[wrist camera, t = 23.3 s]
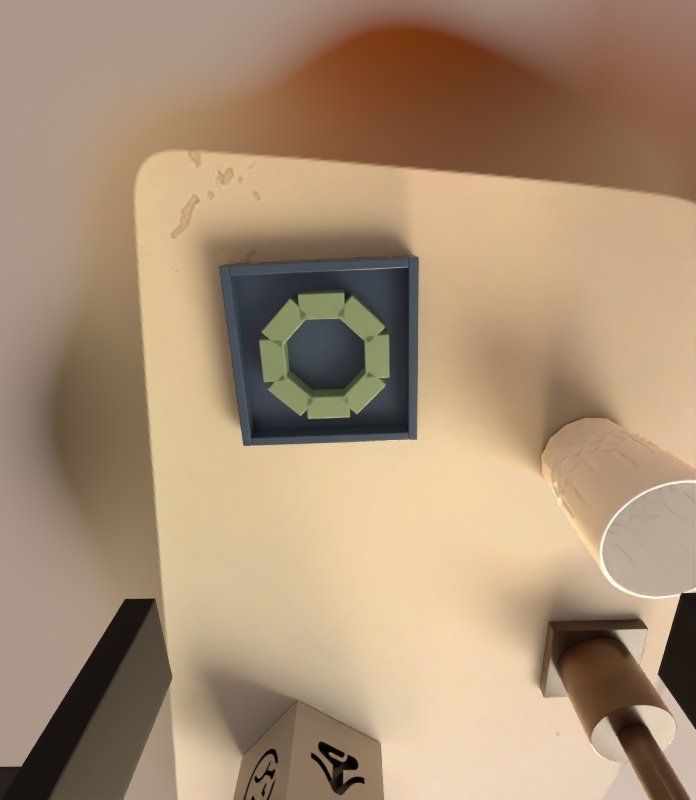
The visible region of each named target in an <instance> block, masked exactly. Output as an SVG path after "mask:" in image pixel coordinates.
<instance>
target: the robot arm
mask: <svg viewBox="0 0 696 800" xmlns="http://www.w3.org/2000/svg"><path fill="white" fill-rule="evenodd" d="M658 675H659V677H660V678H661V680H662V681H663V682H664V684H665V685H666V687H667V688H668V689H669V691H670V692H671V694H672V695H673V697H674V698H675V700H676V701H677V703H678V704H679V706H680V707H681V708H682V710H683V712H684V713H685V714H686V716H687V717H688V719H689V720H690V722H691V723H692V725H693V726H694V728H695V729H696V593H681V596H680V599H679V603H678V606H677V610H676V613H675V617H674V620H673V623H672V627H671V630H670V634H669V637H668V641H667V644H666V648H665V651H664V655H663V658H662V661H661V665H660V668H659V672H658ZM171 680H172V673H171V669H170V664H169V660H168V655H167V650H166V646H165V641H164V637H163V632H162V628H161V623H160V619H159V614H158V609H157V604H156V600H155V599H125V600H124V602H123V604H122V605H121V607H120V608H119V610H118V612H117V613H116V615H115V617H114V618H113V620H112V621H111V623H110V624H109V626H108V628H107V629H106V631H105V633H104V634H103V636H102V637H101V639H100V641H99V642H98V644H97V645H96V647H95V649H94V650H93V652H92V654H91V655H90V657H89V658H88V660H87V662H86V663H85V665H84V666H83V668H82V670H81V671H80V673H79V674H78V676H77V678H76V679H75V681H74V683H73V684H72V686H71V687H70V689H69V691H68V692H67V694H66V695H65V697H64V699H63V700H62V702H61V704H60V705H59V707H58V709H57V710H56V712H55V713H54V715H53V716H52V718H51V720H50V721H49V723H48V725H47V726H46V728H45V729H44V731H43V733H42V734H41V736H40V737H39V739H38V741H37V742H36V744H35V746H34V747H33V749H32V750H31V752H30V754H29V755H28V757H27V758H26V760H25V762H24V763H23V765H22V766H21V767H0V800H123V799H124V796H125V794H126V791H127V789H128V787H129V784H130V782H131V779H132V777H133V774H134V772H135V769H136V767H137V764H138V762H139V759H140V757H141V754H142V752H143V749H144V747H145V745H146V742H147V739H148V737H149V734H150V732H151V730H152V727H153V725H154V722H155V719H156V717H157V715H158V712H159V710H160V707H161V705H162V702H163V700H164V697H165V695H166V692H167V690H168V688H169V685H170V683H171Z"/></svg>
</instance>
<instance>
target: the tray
mask: <svg viewBox="0 0 696 800" xmlns="http://www.w3.org/2000/svg"><path fill="white" fill-rule="evenodd" d="M219 269H220V277H221V284H222V291H223V299H224V306H225V313H226V321H227V328H228V335H229V343H230V350H231V357H232V365H233V372H234V380H235V387H236V394H237V402H238V409H239V416H240V424H241V431H242V438H243V445H244V446H251V445H281V444H309V443H337V442H365V441H393V440H408V439H409V440H417V386H418V273H419V258H418V257H416V256H392V257H370V258H348V259H326V260H304V261H282V262H260V263H238V264H226V265H222V266H219ZM322 290H345V300H346V299H347V298H348V297H349V295H350V294H351V293H353V294H354V295H355V296H357V297H358V298H359V299H360V300H361V301H362V302H363V303H364V304H365V305H366V306H367V307H368V308H369V309H370V310H371V311H373V312H374V313H375V314H376V315H377V316H378V317H379V318H380V319H381V320H382V321H383V322H384V325H385V328H384V329H383V330H387V331H388V334H389V372H390V377H388V378H385V382H386V386H385V387H384V388H383V389H382V390H381V391H380V392H379V393H378V394H377V395H376V396H375V397H374V398H373V399H372V400H371V401H370V402H369V403H368V404H367V405H366V406H365V407H364V408H363V409H362V410H361V411H360V412H359V413H357V414H356V413H355V412H354V411H353V410H351V409H350V417H343V418H316V419H308V417H307V410H306V411H305V412H304V413H303V414H302V415H301V416H299V415H298V414H297V413H296V412H294V411H293V410H292V409H291V408H290V407H288V406H287V405H286V404H285V403H284V402H282V401H281V400H280V399H279V398H277V397H276V396H275V395H274V394H273V393H271V392H270V391H269V390H268V388H269V386H270V384H271V382H264V381H263V373H262V365H261V356H260V347H259V339H260V338H261V337H262V336H263V335H264V334H263V333H262V330H263V329H264V328H265V327H266V325H267V324H268V323H269V322H270V321H271V320H272V318H273V317H274V316H275V315H276V314H277V313H278V311H279V310H280V309H281V308H282V307H283V306H284V304H285V303H286V302H287V301H288V300H289V299H290V298H291V297H292V296H294V297H296V298H297V299H298V294H299V293H300V292H301V291H322ZM287 347H288V357H289V368H290V371H291V372H293V373H294V374H295V375H296V376H297V377H299V378H300V379H301V380H302V381H303V382H304V383H306V384H307V385H308V386H309V387H310V388H311V389H313V390H323V389H344V388H345V387H346V386H347V385H348V384H349V383H350V382H351V381H352V380H353V379H354V378H355V376H356V375H357V374H358V373H359V372H360V371H361V370H362V369H363V368H364V367H365V361H364V340H363V339H362V338H360V337H359V336H358V335H357V334H356V333H355V332H354V331H353V330H352V329H351V328H349V327H348V326H347V325H346V324H345V323H344V322H343V321H342V320H341V319H340V318H336V319H313V320H305V321H304V322H303V323H302V324H301V325H300V327H299V328H298V329H297V330H296V331H295V332H294V333H293V334H292V336H291V337H290V338H289V339H288V340H287Z"/></svg>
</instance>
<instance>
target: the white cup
mask: <svg viewBox="0 0 696 800" xmlns="http://www.w3.org/2000/svg"><path fill="white" fill-rule="evenodd" d="M541 463H542V475H543V477H544V478H545V480H546V481H547V483H548V484H549V486H550V487H551V489H552V490H553V492H554V494H555V496H556V498H557V501H558V503H559V505H560V506H561V508H562V510H563V511H564V513H565V515H566V516H567V518H568V519H569V521H570V523H571V524H572V526H573V528H574V529H575V531H576V532H577V534H578V535H579V536H580V538H581V539H582V541H583V542H584V544H585V545H586V547H587V549H588V550H589V552H590V553H591V555H592V556H593V558H594V559H595V561H596V562H597V564H598V566H599V567H600V569H601V570H602V572H603V573H604V575H605V576H606V578H607V579H608V580H609V581H610V582H611V583H612V584H613V585H614V586H616V587H617V588H619V589H620V590H622V591H624V592H626V593H629V594H632V595H635V596H639V597H645V598H667V597H673V596H678V595H681V593H688V592H691V591H693V590H696V469H695V468H693V467H691V466H690V465H688V464H687V463H685V462H683V461H682V460H680V459H679V458H677V457H676V456H674V455H672V454H671V453H669V452H667V451H665V450H663V449H662V448H660V447H658V446H657V445H655V444H654V443H652V442H650V441H648V440H646V439H645V438H643V437H641V436H640V435H638V434H634V433H631V432H630V431H628V430H627V429H625V428H624V427H622V426H620V425H618V424H616V423H614V422H613V421H611V420H609V419H607V418H583V419H580V420H577V421H575V422H572V423H569V424H566V425H565V426H563V427H562V428H561V429H560V430H559V431H558V432H557V433H556V434H554V435H553V436H552V437H551V438H550V439H549V441H548V443H547V445H546V447H545V449H544V452H543V454H542V456H541Z"/></svg>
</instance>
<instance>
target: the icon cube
mask: <svg viewBox="0 0 696 800" xmlns="http://www.w3.org/2000/svg"><path fill="white" fill-rule="evenodd" d="M234 800H384V793H383V775H382V756H381V743H379V742H377V741H375V740H373V739H371V738H369V737H367V736H365V735H363V734H361V733H360V732H358V731H356V730H354V729H352V728H350V727H348V726H346V725H344V724H342V723H340V722H338V721H336V720H334V719H333V718H331V717H329V716H327V715H325V714H323V713H321V712H319V711H317V710H315V709H313V708H311V707H309V706H307V705H306V704H304V703H302V702H300V701H297V702H296V703H295V704H294V705H293V706H292V707H291V708H290V709H289V710H288V711H287V712H286V713H285V714H284V715H283V716H282V717H281V718H280V719H279V720H278V721H277V722H276V723H275V724H274V725H273V726H272V727H271V728H270V729H269V730H268V731H267V732H266V733H265V734H264V735H263V736H262V737H261V738H260V739H259V740H258V741H257V742H256V743H255V744H254V745H253V746H252V747H251V748H250V749H249V750H248V751H247V752H246V753H245V754H244V755H243V757H242V762H241V766H240V771H239V776H238V781H237V785H236V790H235V795H234Z"/></svg>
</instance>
